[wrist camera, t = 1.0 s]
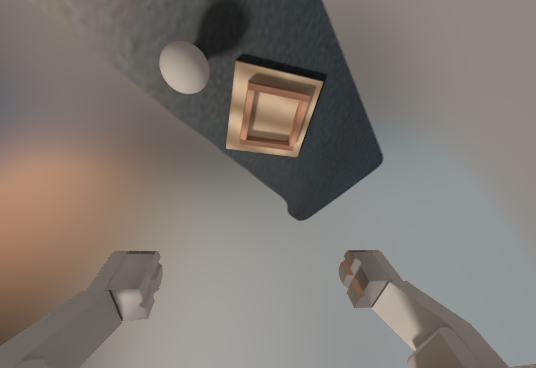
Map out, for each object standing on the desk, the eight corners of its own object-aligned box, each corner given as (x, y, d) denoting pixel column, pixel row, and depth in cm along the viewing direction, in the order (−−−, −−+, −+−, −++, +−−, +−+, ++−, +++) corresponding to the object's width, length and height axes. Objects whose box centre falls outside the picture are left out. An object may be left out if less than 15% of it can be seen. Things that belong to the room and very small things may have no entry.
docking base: (235, 59, 32) (236, 63, 30) (320, 80, 36) (327, 84, 34) (226, 144, 41) (226, 153, 38) (295, 153, 45) (299, 162, 42)
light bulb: (218, 74, 33) (216, 90, 26) (185, 87, 34) (172, 106, 26) (200, 31, 30) (192, 34, 22) (163, 45, 30) (141, 53, 22)
